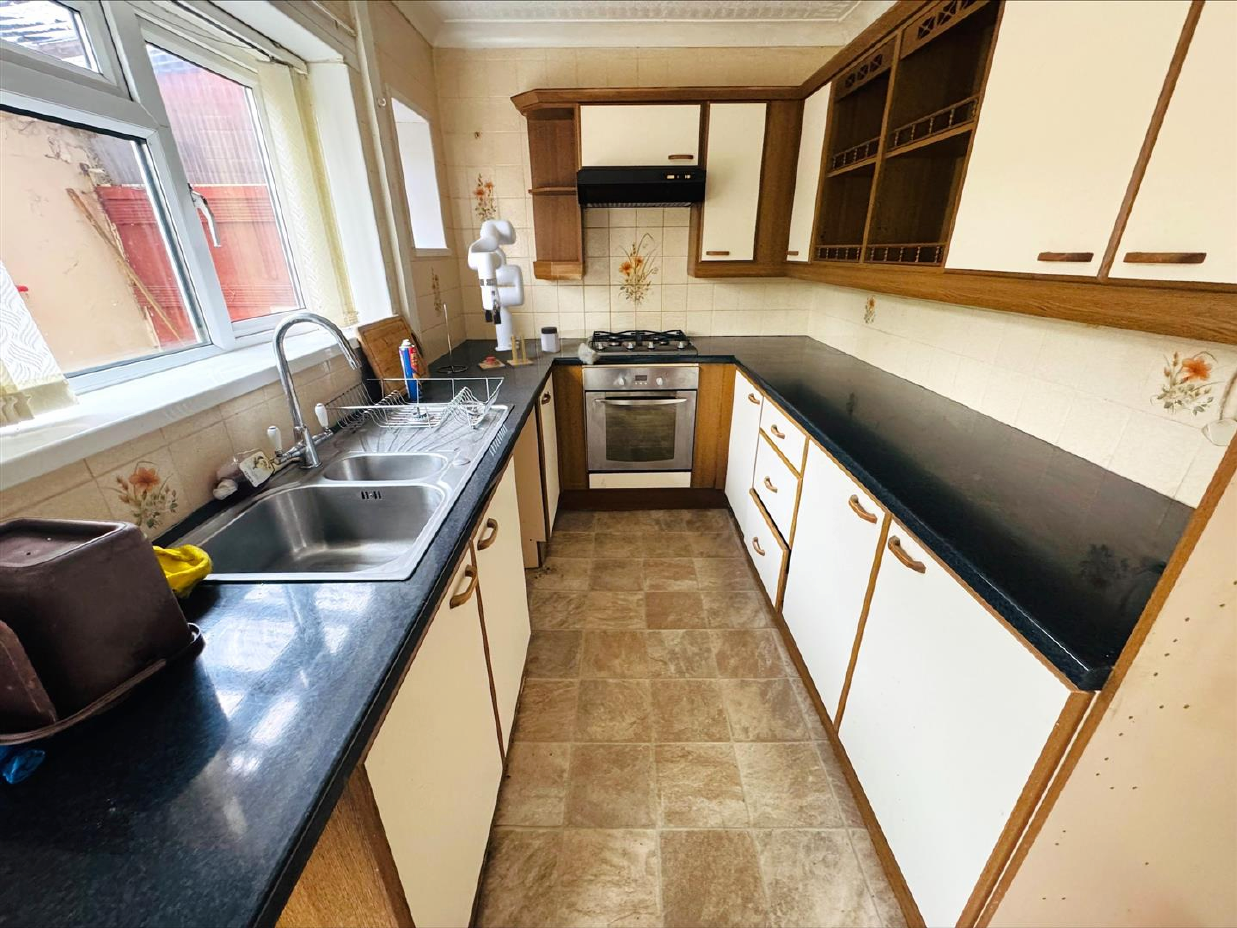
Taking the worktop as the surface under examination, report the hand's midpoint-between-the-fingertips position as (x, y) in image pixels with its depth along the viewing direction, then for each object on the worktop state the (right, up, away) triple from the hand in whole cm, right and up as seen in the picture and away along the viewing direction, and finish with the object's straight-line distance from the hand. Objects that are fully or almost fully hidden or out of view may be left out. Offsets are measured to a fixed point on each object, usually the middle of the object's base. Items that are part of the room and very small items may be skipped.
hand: (493, 323), depth 229 cm
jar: (+22, -5, +34) cm, 41 cm away
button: (-2, -17, +3) cm, 17 cm away
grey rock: (+45, -18, +3) cm, 48 cm away
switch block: (-2, -19, +4) cm, 20 cm away
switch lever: (+9, -7, +8) cm, 14 cm away
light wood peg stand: (+10, -17, +8) cm, 21 cm away
